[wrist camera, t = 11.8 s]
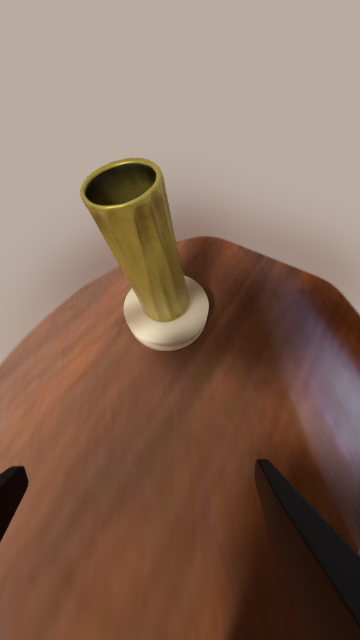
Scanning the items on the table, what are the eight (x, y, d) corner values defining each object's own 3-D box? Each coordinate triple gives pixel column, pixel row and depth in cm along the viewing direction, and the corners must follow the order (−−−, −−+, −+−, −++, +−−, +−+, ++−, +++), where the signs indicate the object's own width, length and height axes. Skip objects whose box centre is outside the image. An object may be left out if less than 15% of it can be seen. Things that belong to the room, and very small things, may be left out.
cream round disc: (221, 328, 26) (225, 317, 24) (148, 367, 24) (144, 359, 21) (182, 276, 31) (182, 262, 28) (118, 304, 28) (111, 291, 26)
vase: (170, 332, 22) (120, 226, 10) (133, 308, 25) (53, 196, 12) (199, 295, 24) (188, 163, 11) (162, 275, 26) (119, 147, 14)
